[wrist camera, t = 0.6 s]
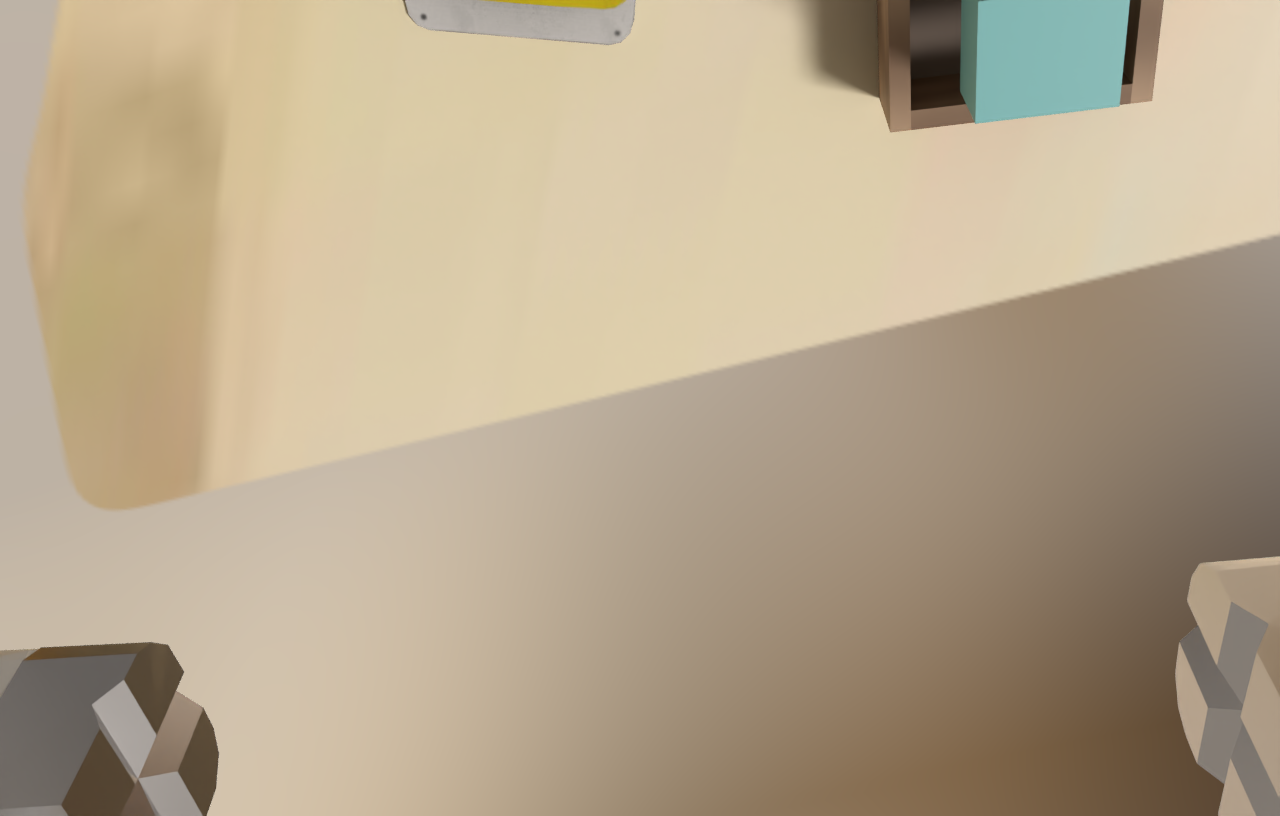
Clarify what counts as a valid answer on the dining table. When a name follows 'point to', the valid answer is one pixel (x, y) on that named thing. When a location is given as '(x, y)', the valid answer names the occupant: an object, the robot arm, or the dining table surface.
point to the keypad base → (931, 55)
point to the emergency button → (529, 18)
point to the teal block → (1041, 56)
